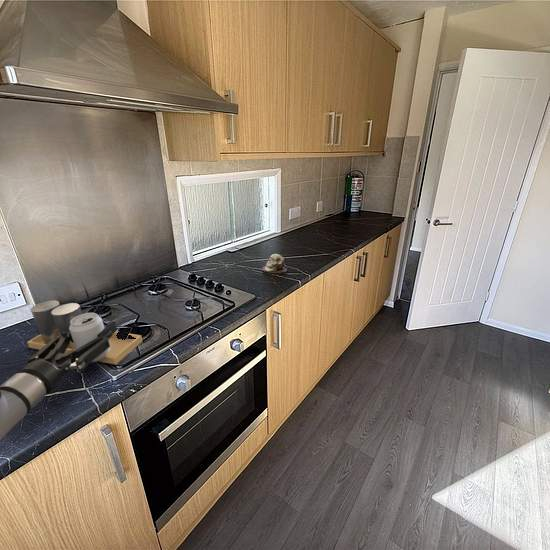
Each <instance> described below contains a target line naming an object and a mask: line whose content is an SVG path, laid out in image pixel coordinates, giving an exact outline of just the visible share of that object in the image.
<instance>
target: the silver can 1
mask: <svg viewBox="0 0 550 550" xmlns="http://www.w3.org/2000/svg"><path fill="white" fill-rule="evenodd" d="M59 306H61V304H60V302H59V300H54V299H53V300H46V301H43V302H39V303H37V304H35V305H33V306H32V307H31V308H30V313H31V315H32V317H33V320H34V322H35V324H36V327H37V329H38V332H39V335H40V334H41V337H42V339H43V341H44V344H47V343H48V342H49V341H51V340H52V339H53V338H54V337H55V336H59V337H60V335H59V332H58V330H57V327H56V324H55V322H54V319H53V317H52V314H51V312H52V310H53V309H55V308H57V307H59ZM55 345H56V343H55Z"/></svg>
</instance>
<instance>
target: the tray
mask: <svg viewBox="0 0 550 550" xmlns="http://www.w3.org/2000/svg"><path fill="white" fill-rule="evenodd" d="M118 332H119V331H118V330H117V331H116V332H115V333H114V334H112V337H111V338H110V339H109V340H108V341H109V344H110V347H111V349H110V351H109V353H108V354H107V355H106V356H105V357H104V358H102V359H101V360H98V361H97V362H101V363H104V364H110V365H115V366H117V365H119V364H120V362H121V361H123V360H124V359H126V358H127V357H128V355H129V354H131V353H132V352H134V350H135V349H136V348H137V347H139V346H140V345H141V344H143V337H142V334H141V335H140V334H134V333H129V334H128V335H131V336H132V337H134V338H136V339H125V340H124V339H123V340H122V339H118V338H117V336H116V335H117V333H118ZM26 343H27V345H28V347H29V348H31V349H35V350H38V351H39V350H41V349H42V348H43V347H44V346H45V345H46V344H44V341H43V339H42V337H41V334H40V333H39V335H36V336H35V337H33V338H31V339H30V340H28V341H27V342H26ZM70 350H76V349H68V348H67V349H66V351H65V352H64V353H67V352H69V351H70ZM71 356H72V355H71Z"/></svg>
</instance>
